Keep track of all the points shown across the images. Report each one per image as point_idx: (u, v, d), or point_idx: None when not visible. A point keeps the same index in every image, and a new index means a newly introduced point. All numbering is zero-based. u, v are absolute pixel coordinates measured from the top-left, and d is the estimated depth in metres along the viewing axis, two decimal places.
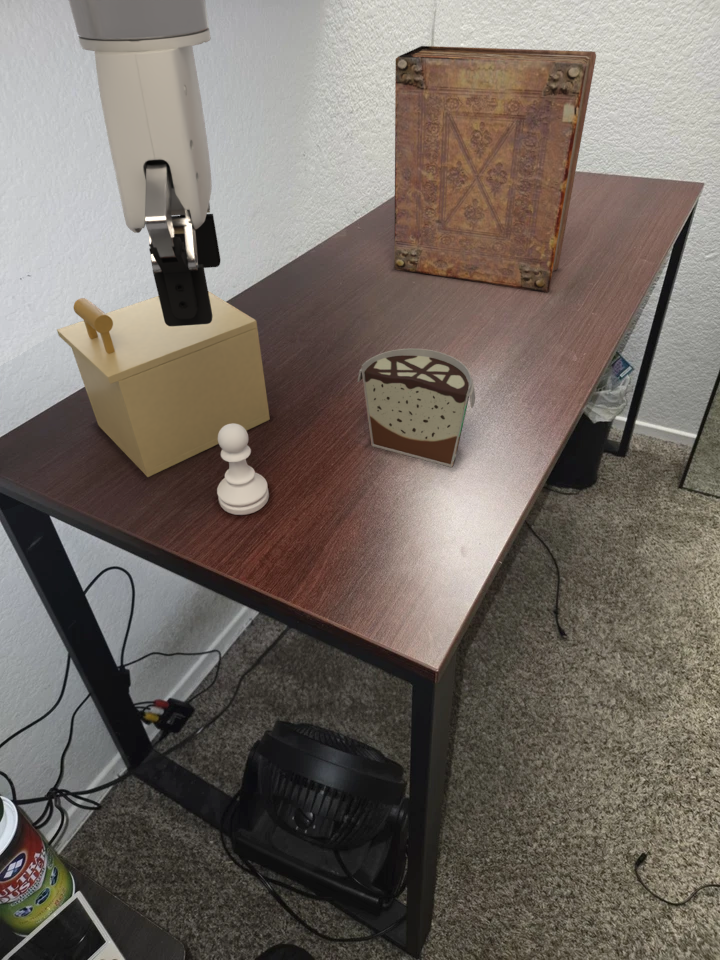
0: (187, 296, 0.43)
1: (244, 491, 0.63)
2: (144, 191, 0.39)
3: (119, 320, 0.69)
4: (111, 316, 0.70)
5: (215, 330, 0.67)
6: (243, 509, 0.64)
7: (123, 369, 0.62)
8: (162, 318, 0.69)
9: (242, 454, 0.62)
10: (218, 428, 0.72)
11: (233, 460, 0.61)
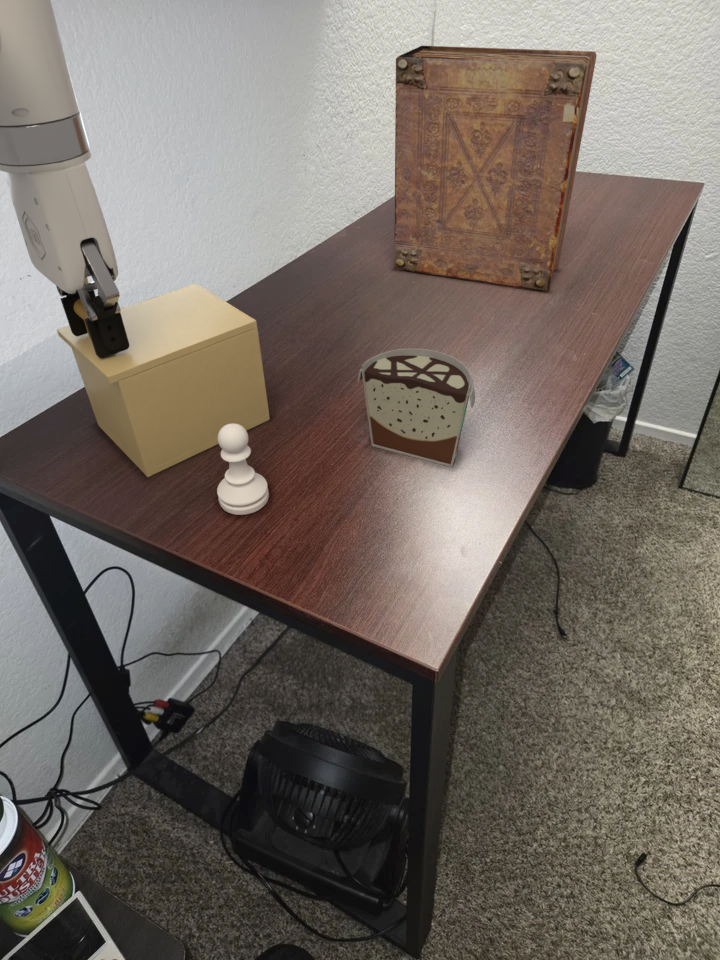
0: (115, 332, 0.61)
1: (244, 491, 0.63)
2: (82, 262, 0.55)
3: None
4: None
5: (215, 330, 0.67)
6: (243, 509, 0.64)
7: (123, 369, 0.62)
8: (162, 318, 0.69)
9: (242, 454, 0.62)
10: (218, 428, 0.72)
11: (233, 460, 0.61)
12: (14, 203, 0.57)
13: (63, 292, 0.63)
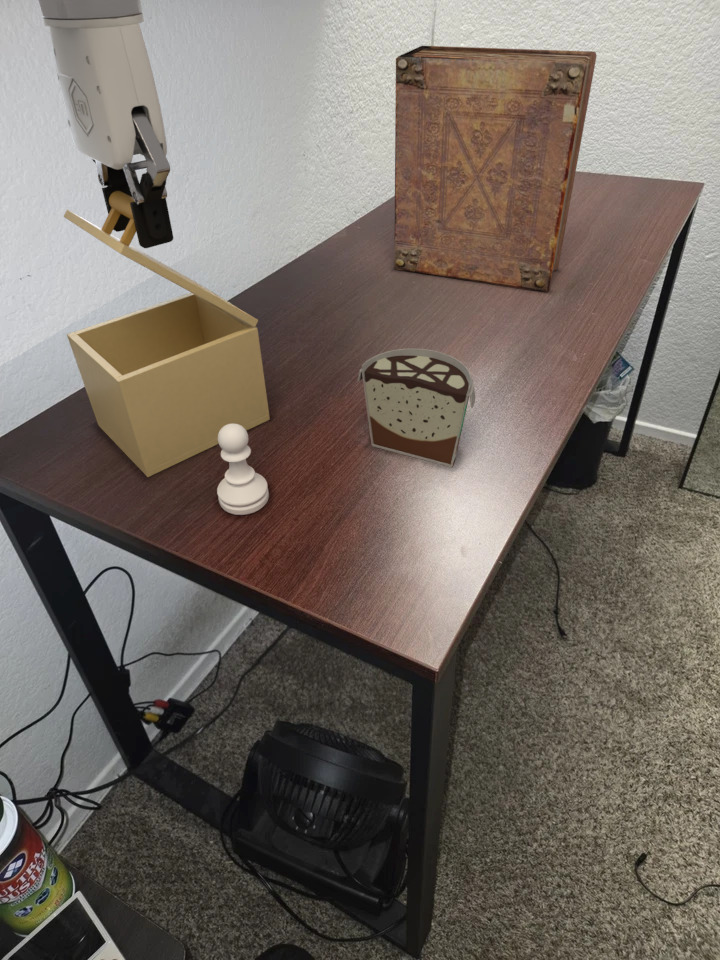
0: (160, 219, 0.59)
1: (244, 491, 0.63)
2: (132, 132, 0.53)
3: None
4: None
5: (223, 300, 0.66)
6: (243, 509, 0.64)
7: (139, 253, 0.57)
8: (171, 269, 0.67)
9: (242, 454, 0.62)
10: (218, 428, 0.72)
11: (233, 460, 0.61)
12: (60, 75, 0.55)
13: (105, 181, 0.61)
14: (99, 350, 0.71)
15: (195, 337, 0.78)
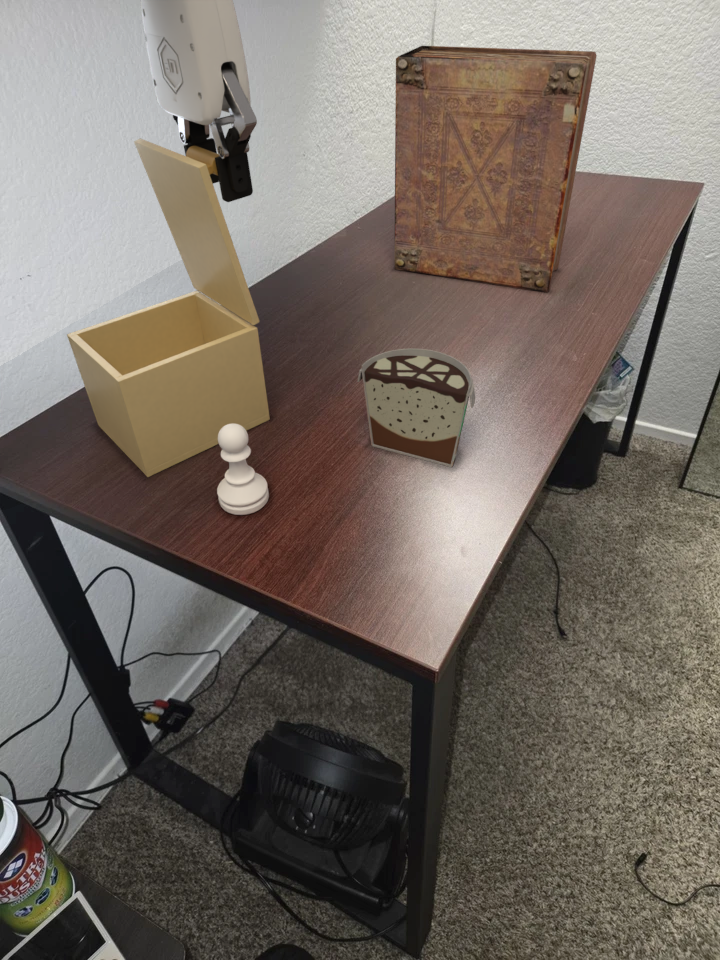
0: (242, 173, 0.62)
1: (244, 491, 0.63)
2: (221, 87, 0.56)
3: None
4: None
5: None
6: (243, 509, 0.64)
7: None
8: None
9: (242, 454, 0.62)
10: (218, 428, 0.72)
11: (233, 460, 0.61)
12: (149, 35, 0.57)
13: (187, 138, 0.64)
14: (99, 350, 0.71)
15: (195, 337, 0.78)
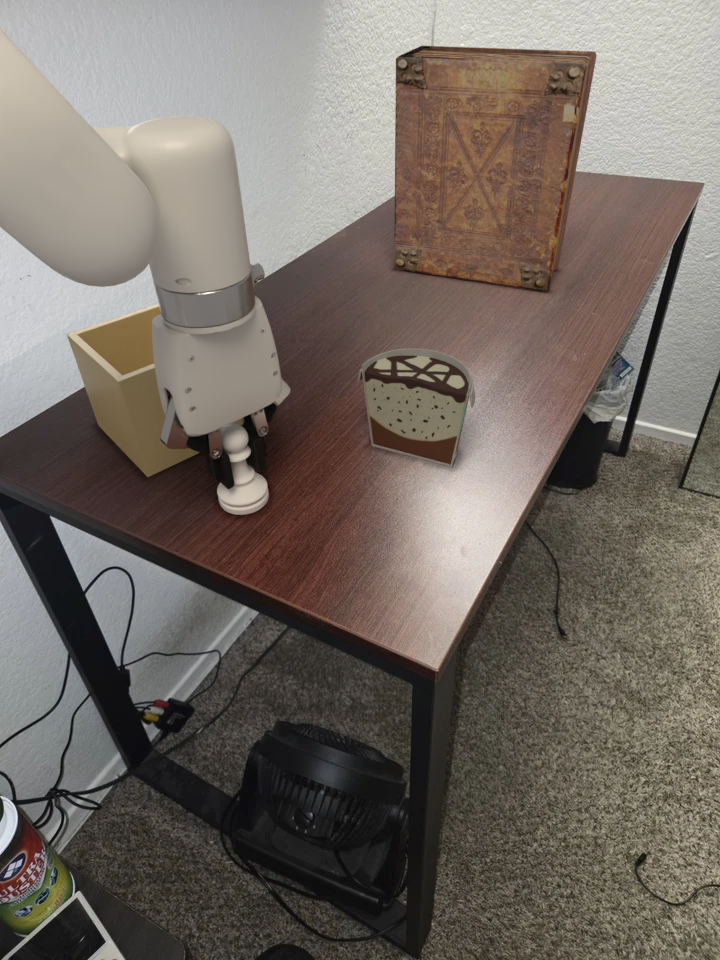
0: (212, 468, 0.61)
1: (244, 491, 0.63)
2: (165, 402, 0.56)
3: None
4: None
5: None
6: (243, 509, 0.64)
7: None
8: None
9: (242, 454, 0.62)
10: None
11: (233, 460, 0.61)
12: None
13: (242, 421, 0.63)
14: (99, 350, 0.71)
15: None
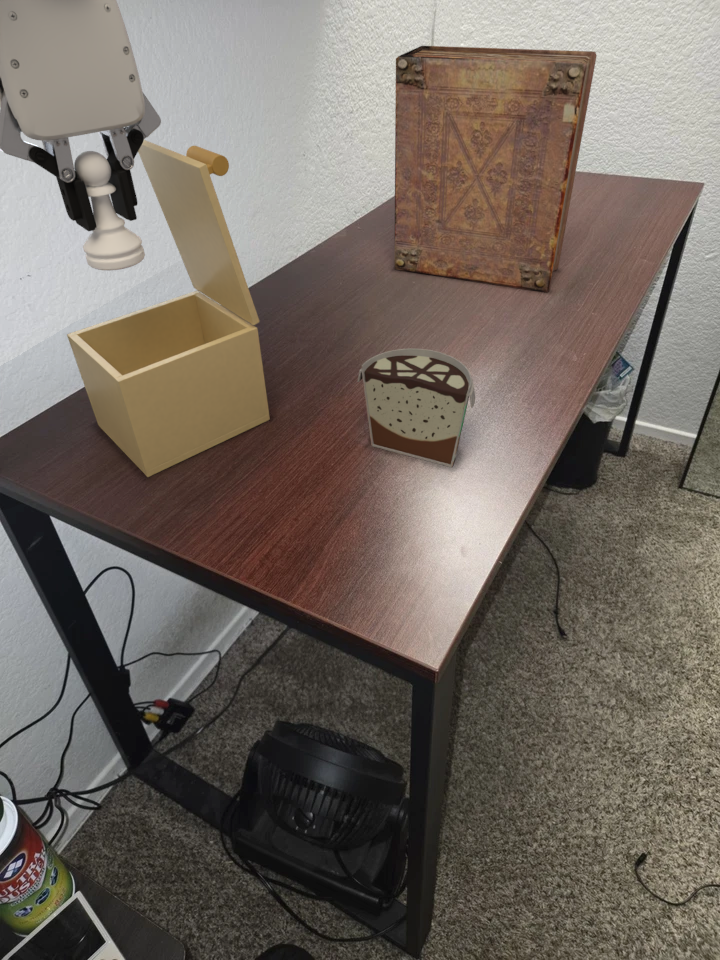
0: (67, 201, 0.54)
1: (110, 240, 0.56)
2: None
3: None
4: None
5: None
6: (110, 262, 0.57)
7: None
8: None
9: (103, 188, 0.54)
10: (218, 428, 0.72)
11: (92, 194, 0.54)
12: None
13: (107, 156, 0.56)
14: (99, 350, 0.71)
15: (195, 337, 0.78)
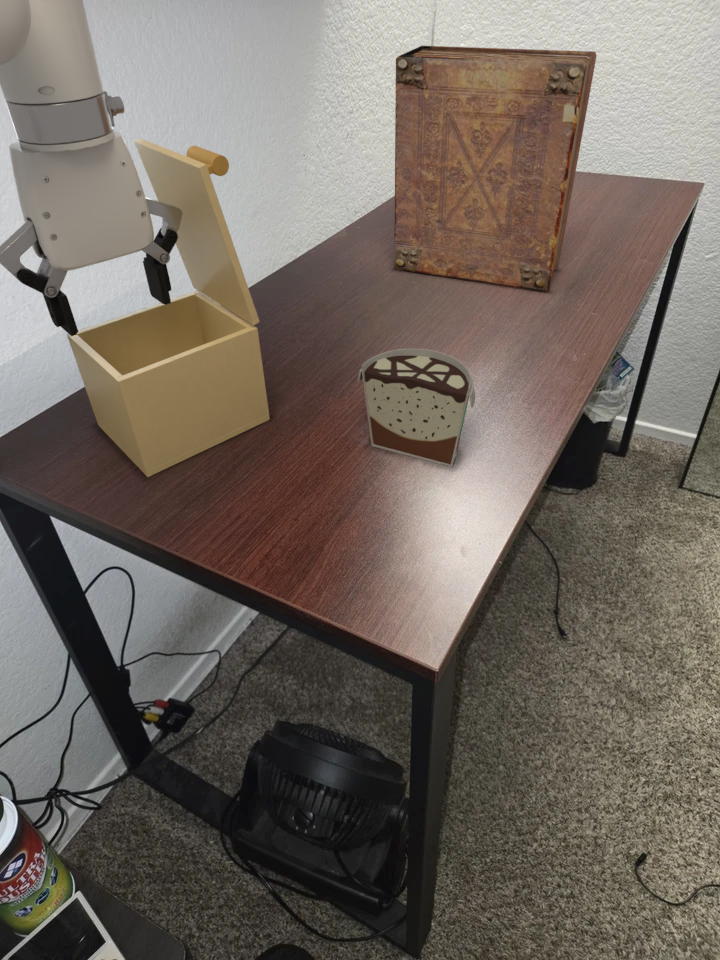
0: (52, 311, 0.60)
1: None
2: None
3: None
4: None
5: None
6: None
7: None
8: None
9: None
10: (218, 428, 0.72)
11: None
12: None
13: None
14: (99, 350, 0.71)
15: (195, 337, 0.78)
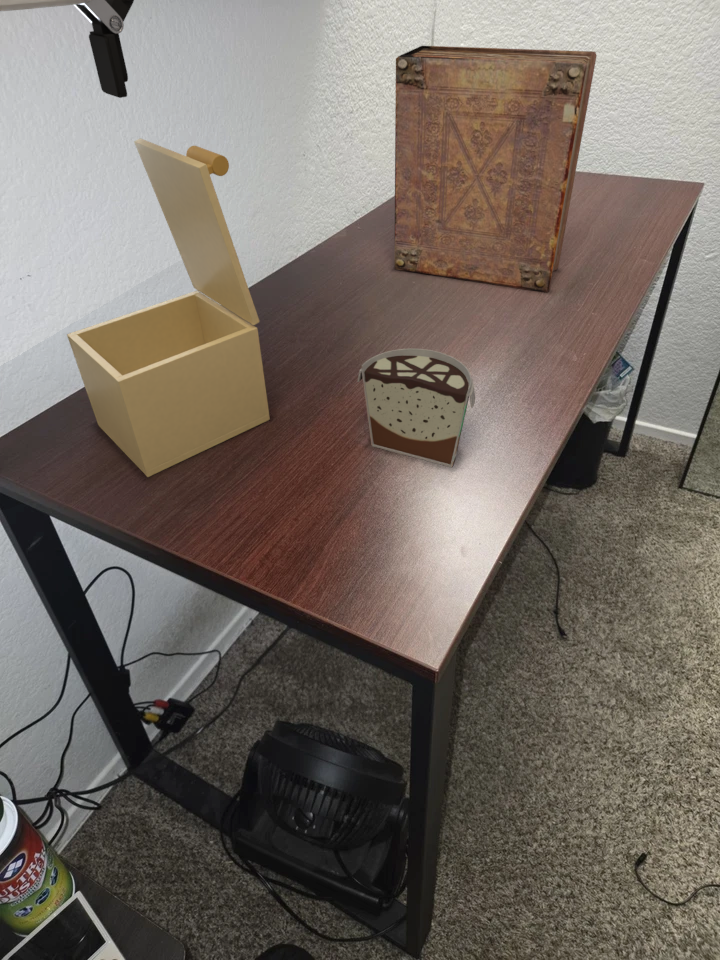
0: None
1: None
2: None
3: None
4: None
5: None
6: None
7: None
8: None
9: None
10: (218, 428, 0.72)
11: None
12: None
13: None
14: (99, 350, 0.71)
15: (195, 337, 0.78)
